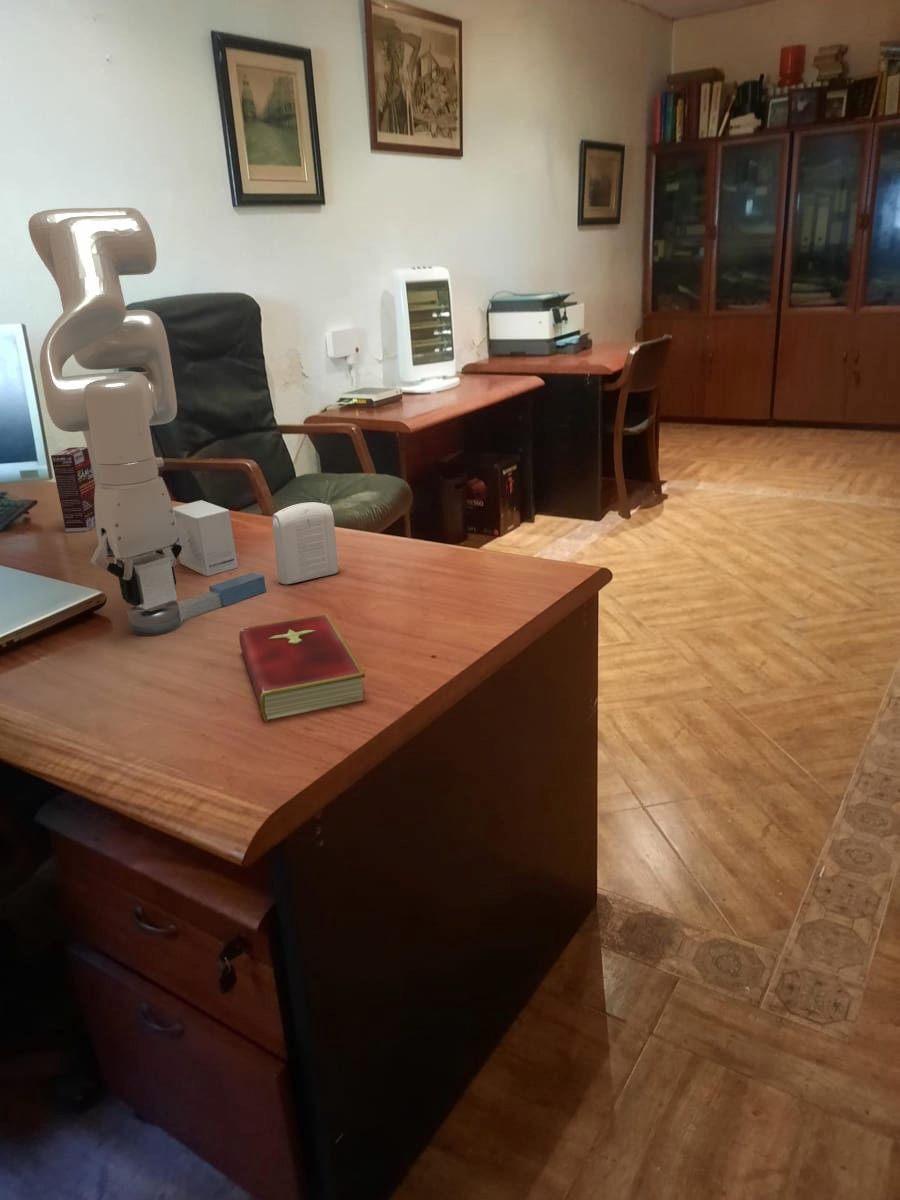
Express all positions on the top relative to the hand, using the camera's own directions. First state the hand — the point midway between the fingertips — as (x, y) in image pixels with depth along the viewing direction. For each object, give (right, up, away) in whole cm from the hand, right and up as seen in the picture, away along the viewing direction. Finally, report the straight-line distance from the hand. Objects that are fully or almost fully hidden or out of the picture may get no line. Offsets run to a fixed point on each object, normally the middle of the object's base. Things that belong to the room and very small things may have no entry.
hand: (150, 596), depth 126 cm
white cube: (0, -1, 0) cm, 1 cm away
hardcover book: (+24, -10, -16) cm, 31 cm away
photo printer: (+20, +3, +19) cm, 28 cm away
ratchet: (+5, -2, +7) cm, 9 cm away
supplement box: (-33, +15, +57) cm, 68 cm away
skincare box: (+1, +5, +27) cm, 28 cm away
